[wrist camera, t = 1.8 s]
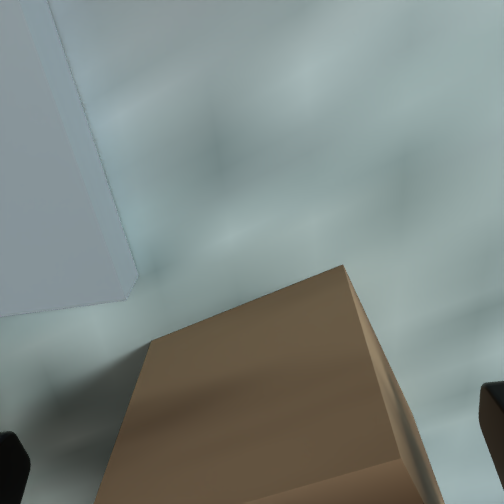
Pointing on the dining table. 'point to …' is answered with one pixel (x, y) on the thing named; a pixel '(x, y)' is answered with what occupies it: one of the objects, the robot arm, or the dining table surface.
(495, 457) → the robot arm
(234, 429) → the walnut cube
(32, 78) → the mat
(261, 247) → the dining table surface
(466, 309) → the dining table surface
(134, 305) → the dining table surface
